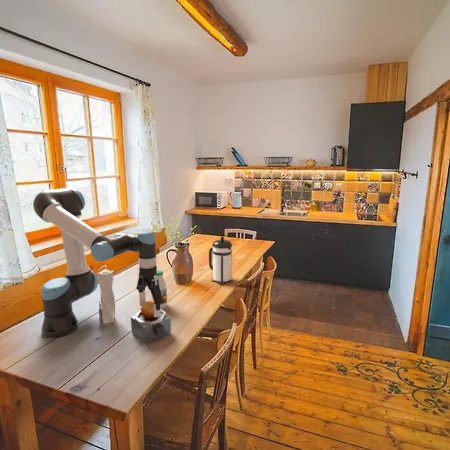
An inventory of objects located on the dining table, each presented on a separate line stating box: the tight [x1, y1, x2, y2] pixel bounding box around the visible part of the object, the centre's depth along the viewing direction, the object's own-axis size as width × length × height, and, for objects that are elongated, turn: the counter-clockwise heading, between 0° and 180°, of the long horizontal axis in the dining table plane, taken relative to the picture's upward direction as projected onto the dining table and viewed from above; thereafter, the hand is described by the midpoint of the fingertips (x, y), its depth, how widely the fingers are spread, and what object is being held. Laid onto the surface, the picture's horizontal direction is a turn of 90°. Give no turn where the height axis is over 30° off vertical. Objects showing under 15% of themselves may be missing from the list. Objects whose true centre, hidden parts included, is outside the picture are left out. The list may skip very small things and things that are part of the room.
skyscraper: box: [96, 264, 116, 327], centre depth 152 cm, size 8×8×28 cm
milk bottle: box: [151, 269, 168, 310], centre depth 168 cm, size 8×8×20 cm
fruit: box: [140, 300, 154, 319], centre depth 142 cm, size 8×8×8 cm
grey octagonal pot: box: [130, 309, 172, 345], centre depth 142 cm, size 13×15×9 cm
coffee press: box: [208, 236, 235, 286], centre depth 203 cm, size 17×16×30 cm
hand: (149, 310), depth 142 cm, fingers open, 13 cm apart
